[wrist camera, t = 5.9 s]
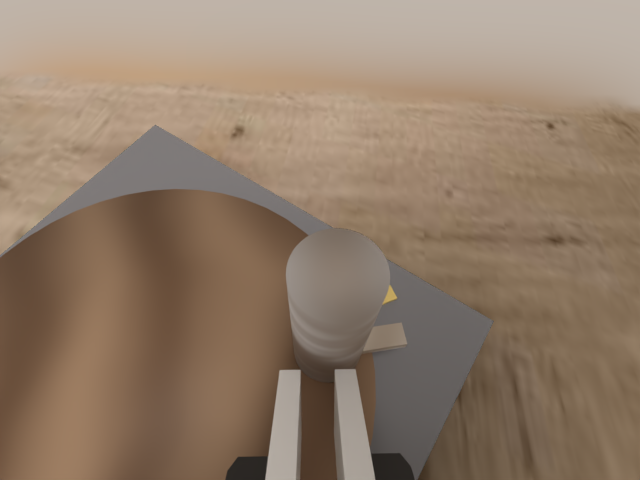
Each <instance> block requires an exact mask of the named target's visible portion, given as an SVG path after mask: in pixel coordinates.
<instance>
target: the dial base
mask: <svg viewBox="0 0 640 480" xmlns="http://www.w3.org/2000/svg"><path fill="white" fill-rule="evenodd" d="M166 189H190V190H204V191H210V192H217V193H223V194H227V195H231V196H234V197H238V198H242V199H245V200H248V201H250V202H253V203H255V204H258V205H260V206H263V207H265V208H268V209H269V210H271V211H273V212H275V213H277V214H278V215H280V216H282V217H284V218H286V219H287V220H289V221H290V222H291V223H293V224H294V225H296V226H297V227H298V228H300V229H301V230H302V231H304V232H305V233H306V234H307V235H308V236H309V235H311V234H313V233H315V232H318V231H321V230H325V229H333V228H332V227H331V226H329V225H327V224H325V223H324V222H322V221H320V220H319V219H317V218H315V217H313V216H312V215H310V214H308V213H307V212H305V211H303V210H301V209H300V208H298V207H296V206H294V205H293V204H291V203H289V202H288V201H286V200H284V199H282V198H281V197H279V196H277V195H275V194H274V193H272V192H270V191H269V190H267V189H265V188H263V187H262V186H260V185H258V184H257V183H255V182H253V181H251V180H250V179H248V178H246V177H244V176H243V175H241V174H239V173H238V172H236V171H234V170H232V169H231V168H229V167H227V166H226V165H224V164H222V163H220V162H219V161H217V160H215V159H213V158H212V157H210V156H208V155H207V154H205V153H203V152H201V151H200V150H198V149H196V148H194V147H193V146H191V145H189V144H188V143H186V142H184V141H182V140H181V139H179V138H177V137H176V136H174V135H172V134H170V133H169V132H167V131H165V130H163V129H162V128H160V127H158V126H157V125H154V126H153V127H152V128H151V129H150V130H148V131H147V132H146V133H145V134H144V135H143V136H141V137H140V138H139V139H138V140H137V141H135V142H134V143H133V144H132V145H131V146H129V147H128V148H127V149H126V150H125V151H124V152H122V153H121V154H120V155H119V156H118V157H116V158H115V159H114V160H113V161H112V162H110V163H109V164H108V165H107V166H106V167H105V168H103V169H102V170H101V171H100V172H99V173H97V174H96V175H95V176H94V177H93V178H91V179H90V180H89V181H88V182H87V183H85V184H84V185H83V186H82V187H81V188H80V189H78V190H77V191H76V192H75V193H74V194H72V195H71V196H70V197H69V198H68V199H66V200H65V201H64V202H63V203H62V204H61V205H59V206H58V207H57V208H56V209H55V210H53V211H52V212H51V213H50V214H49V215H47V216H46V217H45V218H44V219H43V220H41V221H40V222H39V223H38V224H37V225H36V226H34V227H33V228H32V229H31V230H30V231H28V232H27V233H26V234H25V235H24V236H22V237H21V238H20V239H19V240H18V241H17V242H15V243H14V244H13V245H12V246H11V247H9V248H8V249H7V250H6V251H5V252H3V253H2V254H1V255H0V257H1V256H3V255H4V254H5V253H7V252H8V251H9V250H11V249H12V248H13V247H15V246H16V245H17V244H19V243H20V242H22V241H23V240H24V239H26V238H27V237H29V236H30V235H32V234H34V233H35V232H37V231H39V230H40V229H42V228H44V227H45V226H47V225H49V224H50V223H52V222H54V221H56V220H58V219H60V218H62V217H64V216H66V215H69V214H71V213H73V212H75V211H77V210H80V209H82V208H85V207H88V206H90V205H93V204H96V203H98V202H101V201H105V200H108V199H112V198H116V197H119V196H123V195H127V194H133V193H139V192H145V191H151V190H166ZM386 260H387V259H386ZM387 262H388V265H389V270H390V285H389V289H388V292H387V295H386V297H385V299H384V302H383V304H382V307H381V309H380V311H379V314H378V316H377V318H376V321H375V323H374V326H373V327H375V326H382V325H388V324H395V323H401V322H402V326H403V330H404V333H405V337H406V341H407V345H406V346H405V347H402V348H396V349H390V350H384V351H377V352H372V355H373V361H374V367H375V387H376V407H375V417H374V428H373V436H372V441H371V445H370V453H400V454H401V455H402V456H403V457H404V458H405V460H406V461H407V462H408V463H409V465H410V466H411V468H412V472H413V475H414V478H415V480H417V479H418V477H419V475H420V473H421V471H422V469H423V467H424V465H425V463H426V461H427V459H428V457H429V455H430V452H431V450H432V448H433V446H434V444H435V442H436V440H437V438H438V436H439V434H440V432H441V430H442V428H443V425H444V423H445V421H446V419H447V417H448V415H449V413H450V411H451V409H452V407H453V405H454V403H455V401H456V399H457V396H458V394H459V392H460V390H461V388H462V386H463V384H464V382H465V380H466V378H467V376H468V374H469V372H470V369H471V367H472V365H473V363H474V361H475V359H476V357H477V355H478V353H479V351H480V349H481V347H482V345H483V342H484V340H485V338H486V336H487V334H488V332H489V330H490V328H491V326H492V324H493V322H494V321H493V320H491V319H489V318H487V317H486V316H484V315H482V314H481V313H479V312H477V311H475V310H474V309H472V308H470V307H468V306H467V305H465V304H463V303H462V302H460V301H458V300H456V299H455V298H453V297H451V296H450V295H448V294H446V293H444V292H443V291H441V290H439V289H437V288H436V287H434V286H432V285H431V284H429V283H427V282H425V281H424V280H422V279H420V278H419V277H417V276H415V275H413V274H412V273H410V272H408V271H406V270H405V269H403V268H401V267H400V266H398V265H396V264H394V263H393V262H391V261H389V260H387Z"/></svg>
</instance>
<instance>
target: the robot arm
mask: <svg viewBox="0 0 640 480" xmlns="http://www.w3.org/2000/svg"><path fill="white" fill-rule="evenodd" d="M301 436H302V431H301V370H280V371H279V379H278V386H277V394H276V401H275V409H274V417H273V424H272V432H271V439H270V447H269V455H268V456H253V457H237V459H236V460H235V461H234V463H233V464H232V465H231V466H230V468H229V469H228V470H227V474H226V478H225V480H300V466H301ZM334 440H335V454H336V468H337V480H415V478H414V475H413V472H412V468H411V466H410V465H409V463H408V462H407V461H406V460H405V458H404V457H403V456H402V455H401V454H400V453H370V447H369V441H368V436H367V430H366V425H365V419H364V414H363V408H362V402H361V397H360V391H359V386H358V380H357V375H356V369H335V380H334Z"/></svg>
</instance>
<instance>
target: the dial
mask: <svg viewBox="0 0 640 480" xmlns="http://www.w3.org/2000/svg"><path fill="white" fill-rule="evenodd" d="M389 285H390V270H389V265H388V262H387V260H386V258H385V256H384V254H383V252H382V251H381V250H380V248H379V247H378V246H377V245H376V244H375V243H374V242H373V241H372V240H370V239H369V238H367V237H366V236H364V235H362V234H360V233H358V232H355V231H352V230H348V229H341V228H333V229H325V230H321V231H318V232H315V233H313V234H311V235H309V236H308V235H307V234H306V233H305V232H304V231H302V230H301V229H300V228H298V227H297V226H296V225H294V224H293V223H291V222H290V221H289V220H287V219H286V218H284V217H282V216H280V215H278V214H277V213H275V212H273V211H271V210H269V209H268V208H265V207H263V206H260V205H258V204H255V203H253V202H250V201H248V200H245V199H242V198H238V197H234V196H231V195H227V194H223V193H217V192H210V191H204V190H190V189H166V190H151V191H145V192H139V193H133V194H127V195H123V196H119V197H116V198H112V199H108V200H105V201H101V202H98V203H96V204H93V205H90V206H88V207H85V208H82V209H80V210H77V211H75V212H73V213H71V214H69V215H66V216H64V217H62V218H60V219H58V220H56V221H54V222H52V223H50V224H49V225H47V226H45V227H44V228H42V229H40V230H39V231H37V232H35V233H34V234H32V235H30V236H29V237H27V238H26V239H24V240H23V241H22V242H20V243H19V244H17V245H16V246H15V247H13V248H12V249H11V250H9V251H8V252H7V253H5V254H4V255H3V256H1V257H0V480H225V478H226V474H227V470H228V469H229V468H230V466H231V465H232V464H233V463H234V461H235V460H236V459H237V457H253V456H268V455H269V447H270V439H271V432H272V424H273V417H274V409H275V401H276V394H277V386H278V379H279V371H280V370H301V431H302V436H301V466H300V480H337V468H336V454H335V440H334V380H335V369H356V375H357V380H358V386H359V391H360V397H361V402H362V408H363V414H364V419H365V425H366V430H367V436H368V441H369V447H370V445H371V441H372V436H373V428H374V417H375V407H376V387H375V367H374V361H373V355H372V352H377V351H384V350H390V349H396V348H402V347H405V346H406V345H407V341H406V337H405V333H404V330H403V326H402V322H401V323H395V324H388V325H382V326H375V327H373V326H374V323H375V321H376V318H377V316H378V314H379V311H380V309H381V307H382V304H383V302H384V299H385V297H386V295H387V292H388V289H389Z"/></svg>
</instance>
